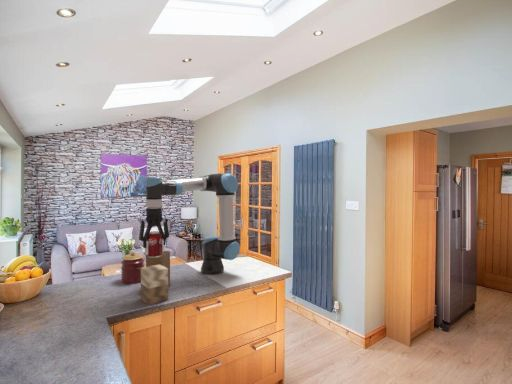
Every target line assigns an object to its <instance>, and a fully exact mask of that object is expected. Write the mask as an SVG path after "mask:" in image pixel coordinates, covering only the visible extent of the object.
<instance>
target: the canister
mask: <svg viewBox="0 0 512 384" xmlns="http://www.w3.org/2000/svg"><path fill="white" fill-rule="evenodd" d="M144 262H145V259H144V256H143V255H142V254H140V253H136V252H135V251H131V252H130V254H129V253H128V254H126V255H125V256H123V257H122V261H121V262H120V264H121V267H120V268H121V277H120V278H121V283H122V284H125V285H130V284H131V285H132V284H133V285H134V284H138V283H141V268H142V267H145V264H144Z"/></svg>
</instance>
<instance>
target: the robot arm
mask: <svg viewBox="0 0 512 384" xmlns="http://www.w3.org/2000/svg"><path fill="white" fill-rule="evenodd" d="M238 181H239V180H238V178H237V177H236V176H235V175H234V174H232V173H211V174H208V175H207V174H206V175H199V176H198V177H194V178H193V177H192V178H182V179H181V178H179V179H169V180H168V179H167V180H163V179H162V177H160V176H148V177H146V179H145V194H146V195H145V201H146V202H145V207H146V210H145V211H146V212H145V219H140V220H139V224H140V227H139V234H138V240H139V241H141V242H142V248H143V249H144V254H145V256H146V255H148V241H147V238H148V235H149V233H150V232H151V230H152V228H154V227H156V228H157V230H158V231H159V232H161V233H162V252H164V251H165V250H164V249H165V247H164V246H165V245H166V240H167V239H168V238H169V237H170V234H169V233H170V232H169V226H168V222H169V218H167V217H166V218H163V208H162V206H163V196H180V195H181V194H183V192H193V191H200V192H212V193H213V192H214V193H215V196H216V197H217V198H218V218H219V221H218V222H219V235H214V236H207V237H204V239H203V259H202V260H203V261H202V263H201V268H200V272H201V273H202V274H204V275H218V274H222V273H223V272H225V267H224V264H223V261H222V259H223V260H229V261H233V260H235V259H236V258H237V257H238V255H239V254H240V251H241V245H240V243H239V242H237V237H236V236H235V235H234V213H233V212H234V209H233V207H234V206H233V197H234V196H235V194H236V193H235V192H237V190H238V188H239V182H238ZM162 222H163V223H162ZM146 224H147V225H146ZM145 227H146V229H145Z"/></svg>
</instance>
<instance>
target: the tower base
mask: <svg viewBox="0 0 512 384" xmlns="http://www.w3.org/2000/svg"><path fill="white" fill-rule="evenodd" d="M140 295H141V296H140V297H141V298H140V299H141V300H142V301H144V302H145V303H146V304H147V305H149V306H150V305H153V304H157V303H161V302H165V301H168V300H169V286H168V284H167V285H162V286H158V287H154V288H149V289H148V288H147V287H145V286H144V285H143V284H141V283H140Z"/></svg>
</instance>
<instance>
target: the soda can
mask: <svg viewBox="0 0 512 384" xmlns="http://www.w3.org/2000/svg"><path fill="white" fill-rule="evenodd" d="M147 241H148V255H147V256H148V257H150V258H155V257H160V256H161V255H162V233H161V232H159V230H158V231H150V233H149V235H148V238H147Z"/></svg>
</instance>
